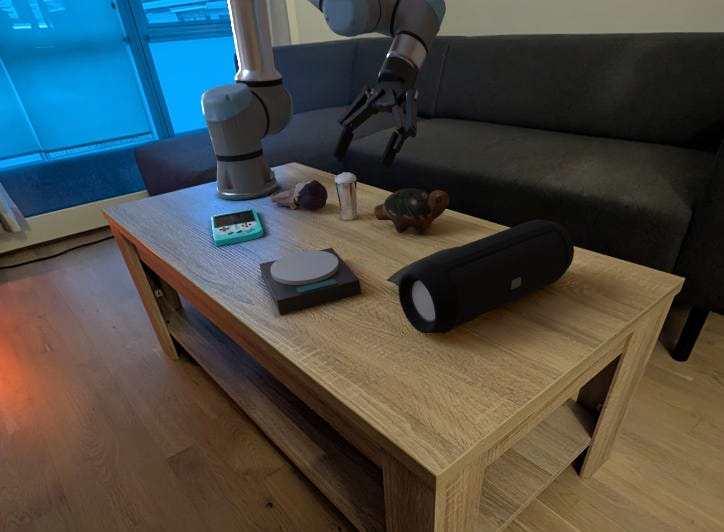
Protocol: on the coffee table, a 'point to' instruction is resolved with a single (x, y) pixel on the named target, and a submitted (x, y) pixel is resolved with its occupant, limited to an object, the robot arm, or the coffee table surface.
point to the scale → (308, 280)
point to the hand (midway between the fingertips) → (359, 161)
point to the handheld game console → (236, 227)
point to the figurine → (303, 196)
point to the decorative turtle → (412, 209)
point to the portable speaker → (484, 275)
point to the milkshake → (347, 194)
